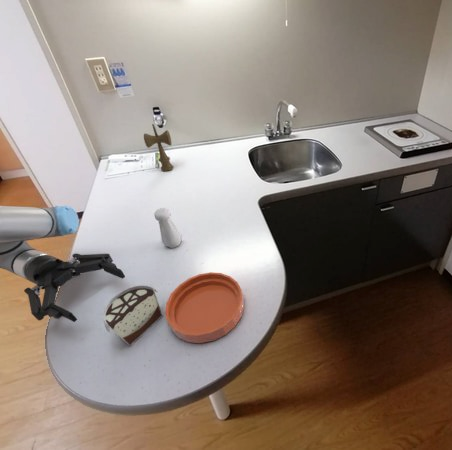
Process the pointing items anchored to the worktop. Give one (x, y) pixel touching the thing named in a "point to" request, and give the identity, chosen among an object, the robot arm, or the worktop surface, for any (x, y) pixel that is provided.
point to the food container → (132, 313)
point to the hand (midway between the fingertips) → (99, 294)
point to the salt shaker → (167, 228)
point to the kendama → (160, 147)
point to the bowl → (204, 307)
